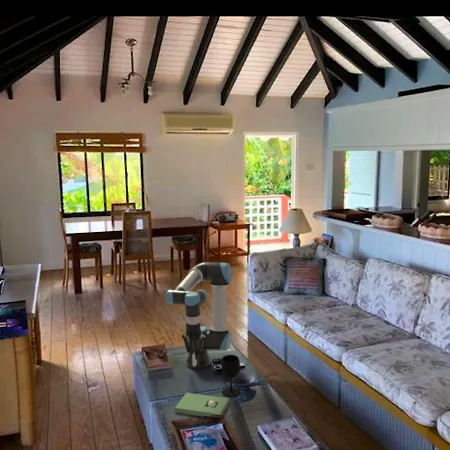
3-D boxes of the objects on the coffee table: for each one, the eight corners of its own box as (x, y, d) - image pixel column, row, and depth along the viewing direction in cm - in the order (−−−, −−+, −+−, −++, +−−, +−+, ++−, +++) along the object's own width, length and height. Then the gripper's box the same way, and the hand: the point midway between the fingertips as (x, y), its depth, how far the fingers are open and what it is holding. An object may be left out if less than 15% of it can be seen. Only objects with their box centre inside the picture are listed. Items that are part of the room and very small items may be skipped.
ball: (209, 408, 246) (208, 401, 247) (217, 407, 246) (215, 399, 247) (208, 410, 242) (206, 402, 243) (215, 408, 242) (213, 400, 243)
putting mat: (186, 397, 257) (186, 392, 257) (228, 402, 250) (228, 398, 250) (175, 412, 242) (174, 407, 242) (219, 418, 235) (219, 414, 235)
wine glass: (224, 398, 255) (223, 363, 252) (219, 389, 265) (218, 355, 262) (242, 395, 258) (242, 360, 255) (237, 386, 268) (236, 353, 265)
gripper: (178, 324, 245) (180, 367, 249) (203, 326, 242) (204, 369, 246) (183, 319, 252) (185, 360, 256) (207, 320, 249) (208, 363, 253)
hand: (194, 364), depth 251 cm, fingers closed
